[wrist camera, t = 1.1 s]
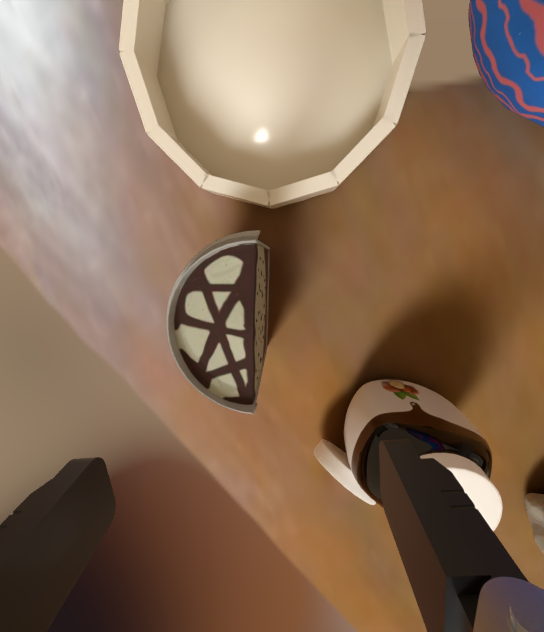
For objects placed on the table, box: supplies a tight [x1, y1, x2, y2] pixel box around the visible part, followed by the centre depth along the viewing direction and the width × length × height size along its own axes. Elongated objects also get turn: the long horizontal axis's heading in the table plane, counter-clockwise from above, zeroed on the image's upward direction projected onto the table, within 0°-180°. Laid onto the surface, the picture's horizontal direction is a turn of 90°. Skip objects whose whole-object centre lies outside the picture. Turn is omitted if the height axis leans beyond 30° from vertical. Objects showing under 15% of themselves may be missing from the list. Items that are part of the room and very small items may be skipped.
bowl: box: [119, 0, 426, 209], centre depth 22 cm, size 19×19×4 cm
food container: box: [166, 230, 270, 414], centre depth 24 cm, size 12×6×10 cm, turn 178°
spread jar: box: [313, 378, 503, 531], centre depth 26 cm, size 12×11×12 cm
